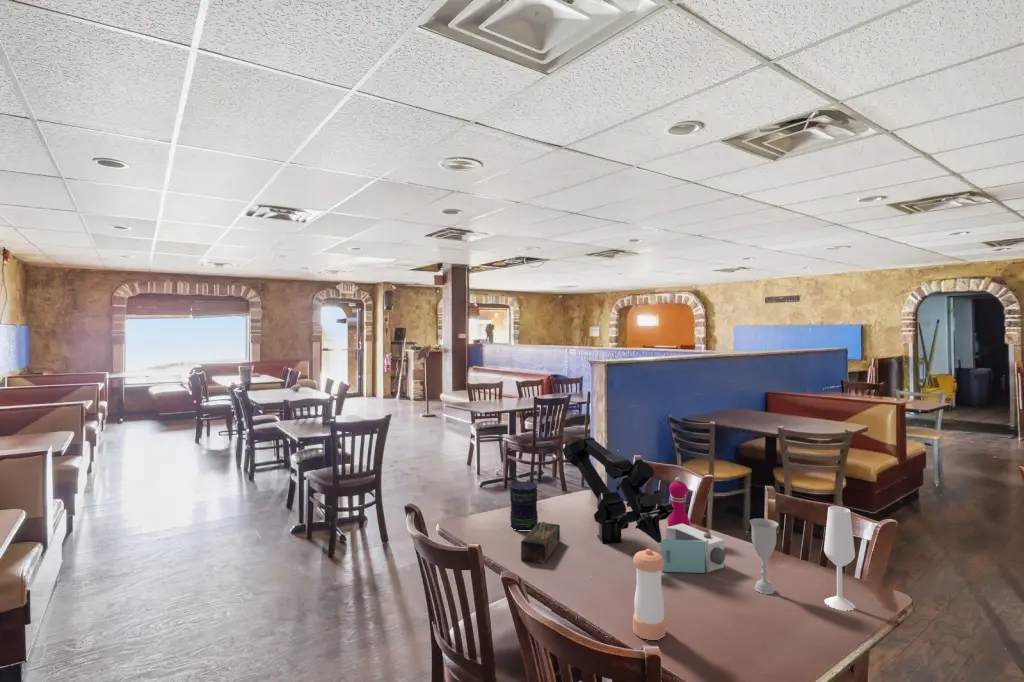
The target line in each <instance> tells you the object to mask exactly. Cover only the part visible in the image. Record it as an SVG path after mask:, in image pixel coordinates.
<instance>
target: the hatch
mask: <svg viewBox="0 0 1024 682" xmlns="http://www.w3.org/2000/svg"><path fill="white" fill-rule="evenodd" d="M660 551H661V552H660V555H661V556H662V557H663V559H664V563H665V564H664V567H663V569H662V570H661V573H662V572H666V573H667V572H668V573H669V572H670V573H693V574H695V573H697V574H706V572H705V541H701V540H667V539H666V538H665V539H663V538H662V539H661V543H660Z"/></svg>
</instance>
